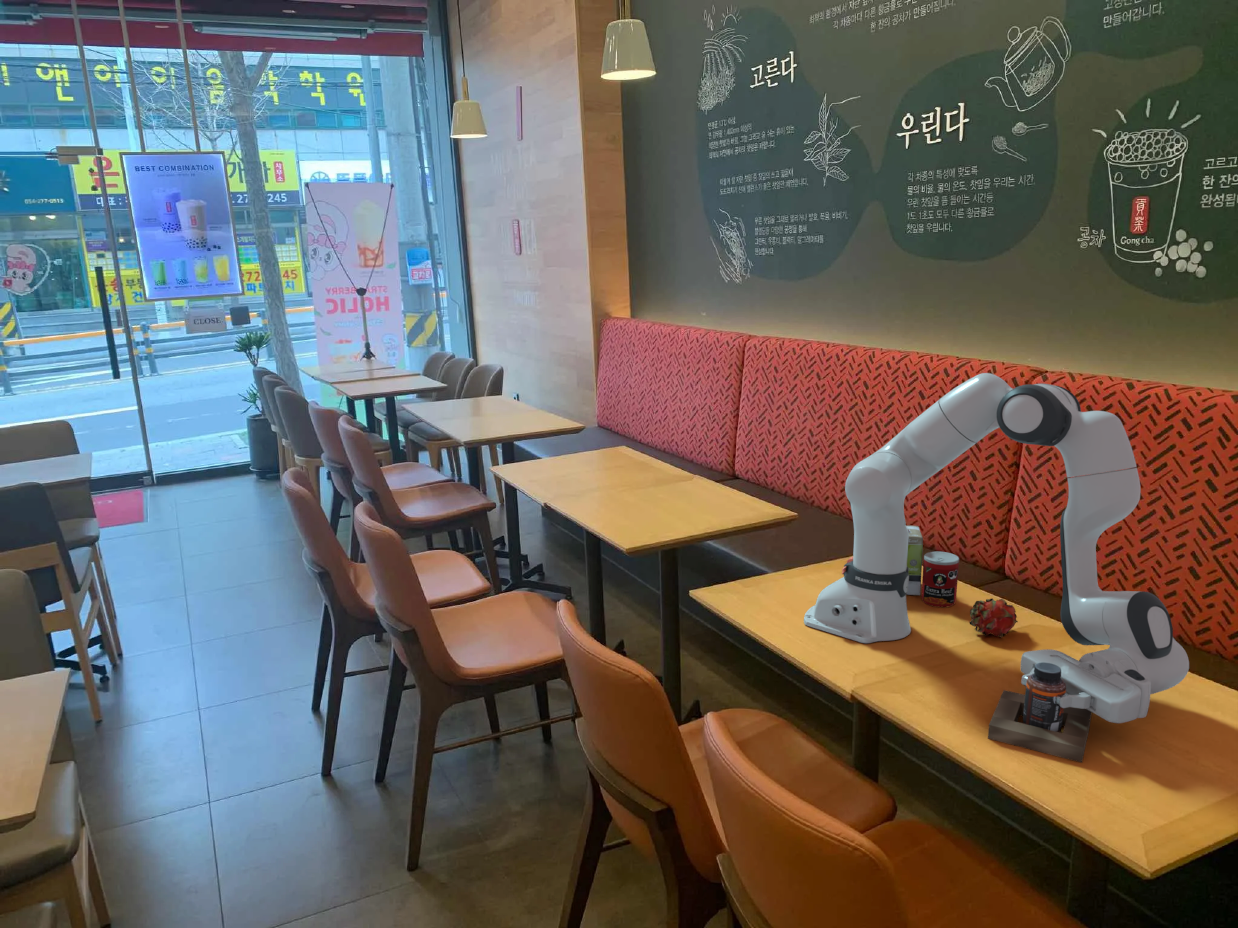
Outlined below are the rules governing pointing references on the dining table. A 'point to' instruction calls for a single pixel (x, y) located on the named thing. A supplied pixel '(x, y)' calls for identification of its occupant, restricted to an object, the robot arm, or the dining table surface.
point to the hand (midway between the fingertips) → (1041, 691)
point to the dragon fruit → (993, 617)
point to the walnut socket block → (1040, 729)
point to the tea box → (914, 560)
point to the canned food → (940, 579)
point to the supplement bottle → (1044, 697)
